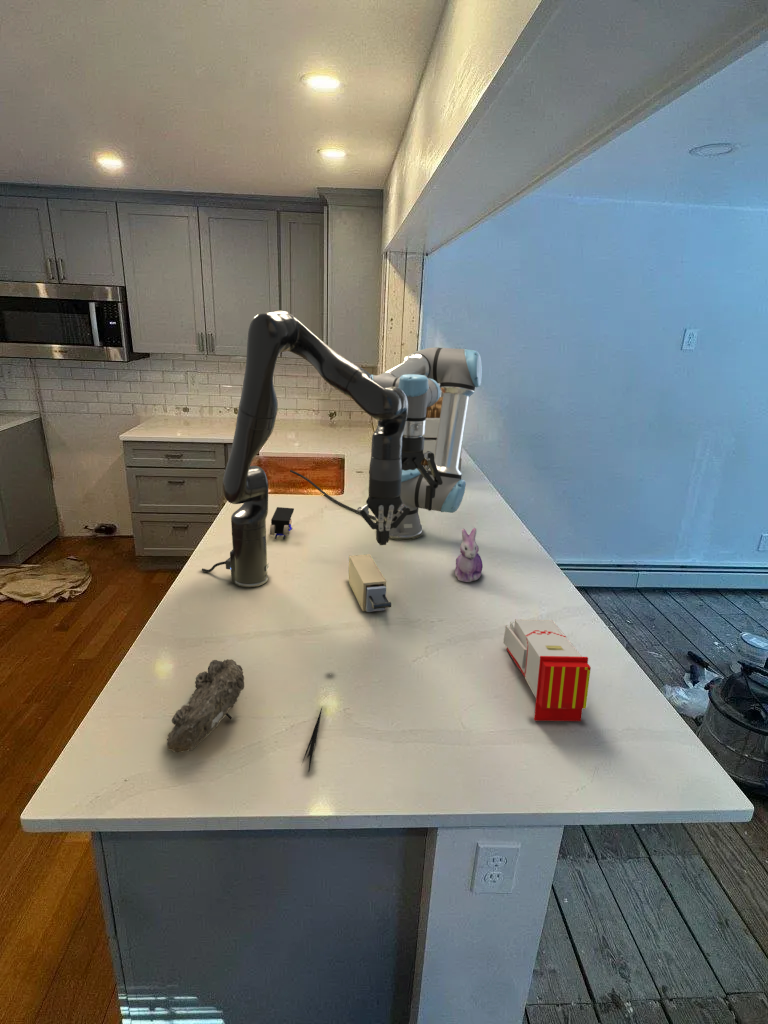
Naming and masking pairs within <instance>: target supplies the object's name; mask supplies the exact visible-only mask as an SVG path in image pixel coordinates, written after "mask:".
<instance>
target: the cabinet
mask: <svg viewBox="0 0 768 1024" xmlns="http://www.w3.org/2000/svg"><path fill="white" fill-rule="evenodd" d="M347 581H348V584H349V586H350V588H351V590H352V592H353V594H354V596H355V599H356V600H357V603H358V604H359V606H360V609H361V611H362V612H367V611H366V585H376V584H381V586H385V587H386V588H387V580H386V578H385V576H384V575H383V573H382V571H381V570H380V568H379V567H378V565H377V564H376V562H375V560H374V559H373V557H372V555H371V554H370V553H367V554H355V555H348V579H347Z"/></svg>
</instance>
